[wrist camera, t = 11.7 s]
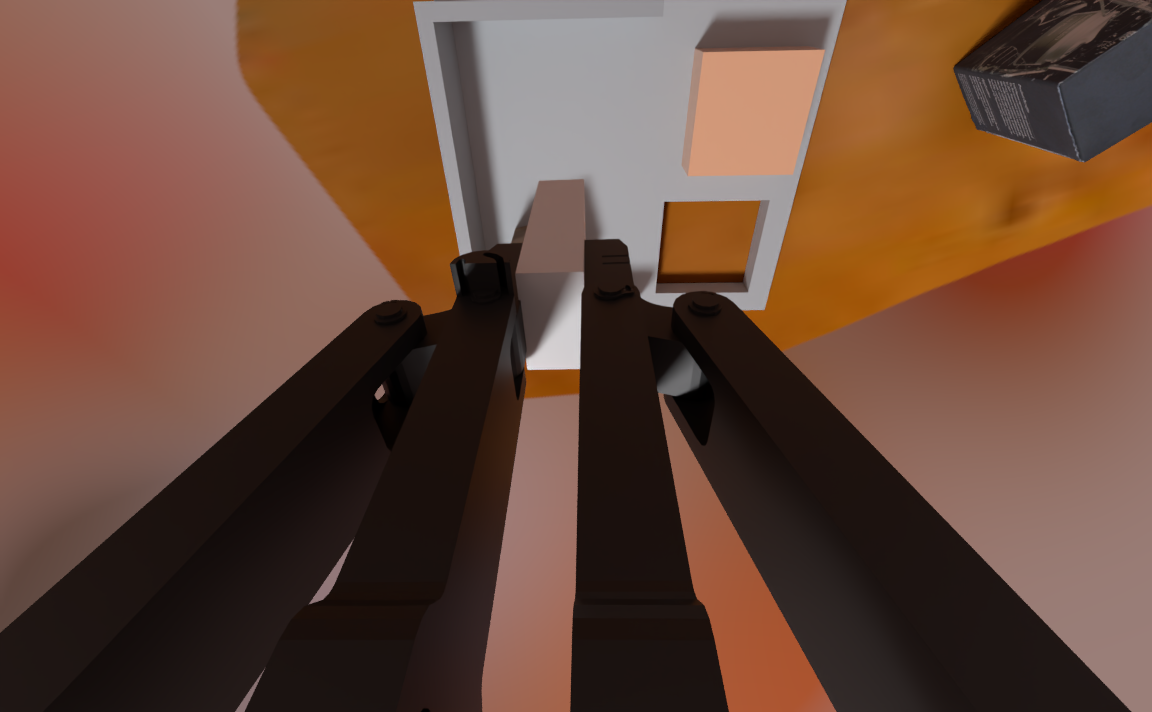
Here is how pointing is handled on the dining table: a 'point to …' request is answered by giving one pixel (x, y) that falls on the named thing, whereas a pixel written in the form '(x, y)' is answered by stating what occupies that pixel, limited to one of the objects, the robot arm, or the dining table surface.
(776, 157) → the terracotta tile
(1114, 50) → the box
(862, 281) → the dining table surface
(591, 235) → the cubby deck
